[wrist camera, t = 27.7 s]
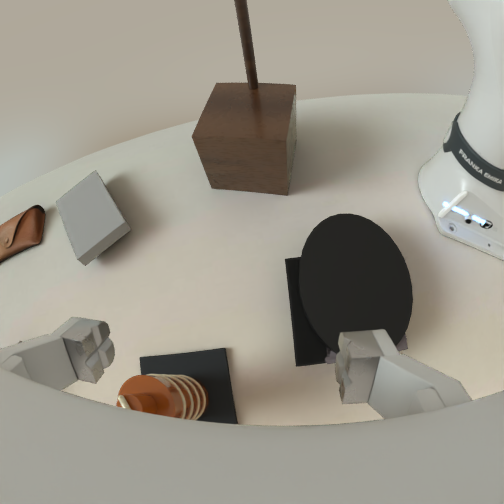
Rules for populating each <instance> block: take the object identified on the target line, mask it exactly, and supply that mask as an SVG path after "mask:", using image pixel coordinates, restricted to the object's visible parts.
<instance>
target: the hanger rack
mask: <svg viewBox="0 0 504 504" xmlns="http://www.w3.org/2000/svg"><path fill="white" fill-rule="evenodd" d="M234 1H235V7H236V12H237V19H238V25H239V31H240V37H241V43H242V48H243V55H244V61H245V67H246V74H247V80H248V83H216V85H215V87H214V89H213V91H212V93H211V95H210V97H209V100H208V101H207V104H206V106H205V108H204V110H203V112H202V114H201V117H200V119H199V121H198V123H197V126H196V128H195V130H194V132H193V135H192V138H193V141H194V144H195V146H196V149H197V151H198V154H199V157H200V159H201V162H202V164H203V167H204V170H205V172H206V175H207V177H208V180H209V182H210V185H211V188H214V189H226V190H237V191H248V192H258V193H268V194H277V195H286V196H287V195H288V190H289V184H290V177H291V171H292V164H293V157H294V151H295V144H296V85H290V84H272V83H271V84H270V83H258V80H257V72H256V65H255V57H254V50H253V42H252V35H251V28H250V22H249V14H248V8H247V0H234Z"/></svg>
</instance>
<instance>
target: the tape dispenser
mask: <svg viewBox="0 0 504 504" xmlns="http://www.w3.org/2000/svg"><path fill="white" fill-rule="evenodd" d="M285 264H286V273H287V281H288V290H289V300H290V309H291V319H292V329H293V339H294V350H295V361H296V367H297V366H306V365H314V364H322V363H327V364H331V363H336V355H337V354H338V353H339V352H340V348H339V345H338V341H339V336H340V333H341V332H353V331H367V330H378V329H384V330H386V332H387V334H388V335H389V337H390V338H391V340H392V342H393V343H394V345H395V347H396V348H397V350H398V351H402V350H405V349H408V347H407V338H406V334H405V332H406V330H407V328H408V324H409V321H410V317H411V312H412V303H413V297H412V284H411V279H410V275H409V271H408V268H407V265H406V263H405V260H404V258H403V256H402V254H401V252H400V250H399V248H398V247H397V245H396V244H395V243H394V241H393V240H392V239H391V237H390V236H389V235H388V234H387V233H386V232H385V231H384V230H383V229H382V228H381V227H380V226H378V225H377V224H375V223H374V222H372V221H371V220H369V219H366V218H364V217H362V216H359V215H354V214H337V215H334V216H330V217H328V218H327V219H325V220H323V221H321V222H320V223H319V224H318V225H317V226H316V227H315V228H314V229H313V231H312V232H311V234H310V235H309V237H308V238H307V240H306V243H305V245H304V248H303V250H302V255H301V257H297V258H288V259H285Z"/></svg>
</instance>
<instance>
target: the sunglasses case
mask: <svg viewBox="0 0 504 504" xmlns="http://www.w3.org/2000/svg"><path fill="white" fill-rule="evenodd" d="M44 222H45V211H44V209H43V208H42V207H41V206H40V205H35V206H32V207H31V208H29V209H28V210H26V211H24V212H22V213H20V214H18V215H17V216H15V217H13V218H12V219H10V220H8V221H7V222H5V223H4V224H2V225H1V226H0V262H2V261H4V260H6V259H7V258H9V257H11V256H13V255H15V254H17V253H19V252H21V251H24V250H26V249H28V248H30V247H33V246H35V245H37V244H39V243H40V241H41V239H42V234H43V229H44Z"/></svg>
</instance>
